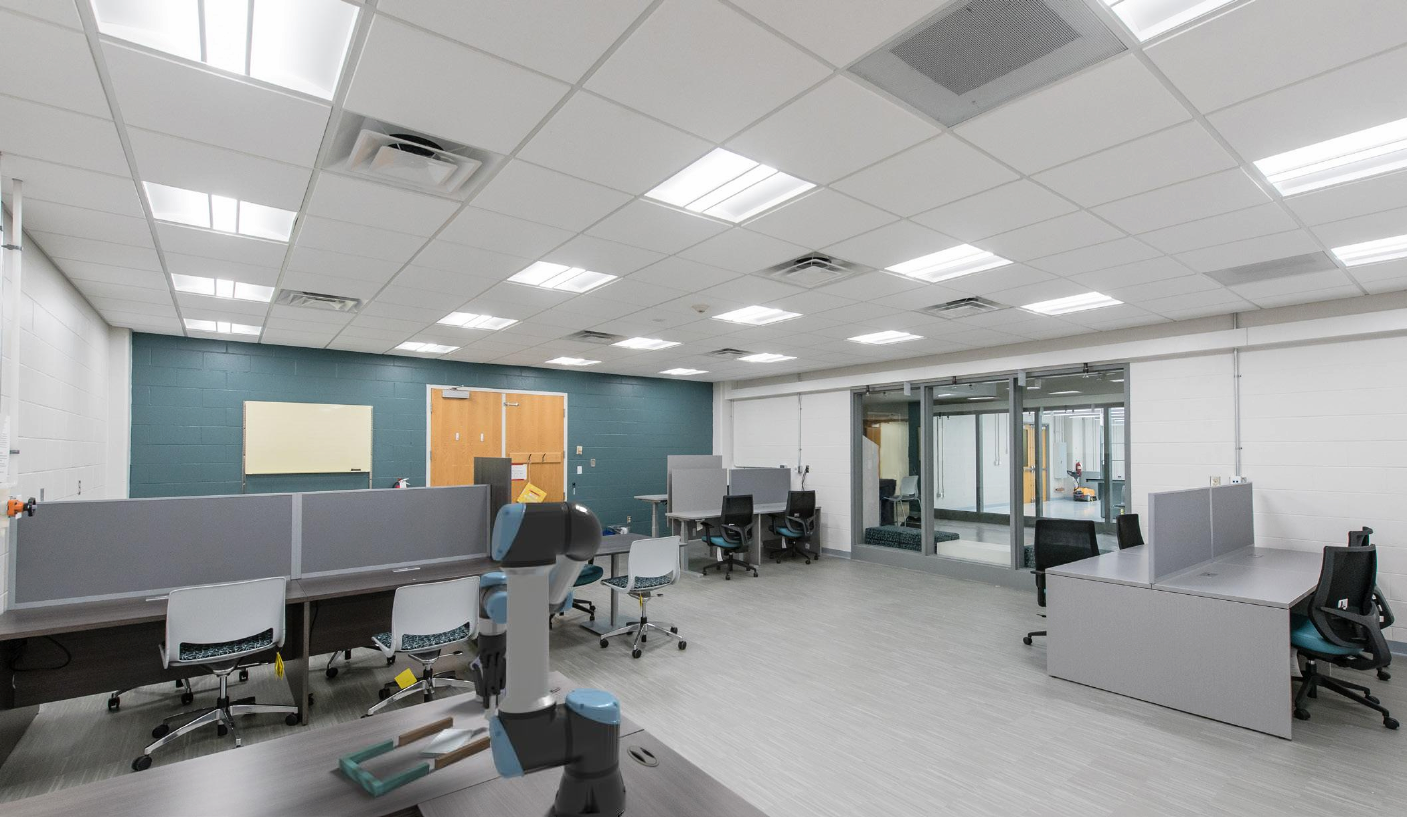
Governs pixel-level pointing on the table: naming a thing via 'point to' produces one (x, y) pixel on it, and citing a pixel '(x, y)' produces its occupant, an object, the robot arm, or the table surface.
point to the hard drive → (447, 742)
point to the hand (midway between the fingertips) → (489, 719)
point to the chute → (381, 787)
